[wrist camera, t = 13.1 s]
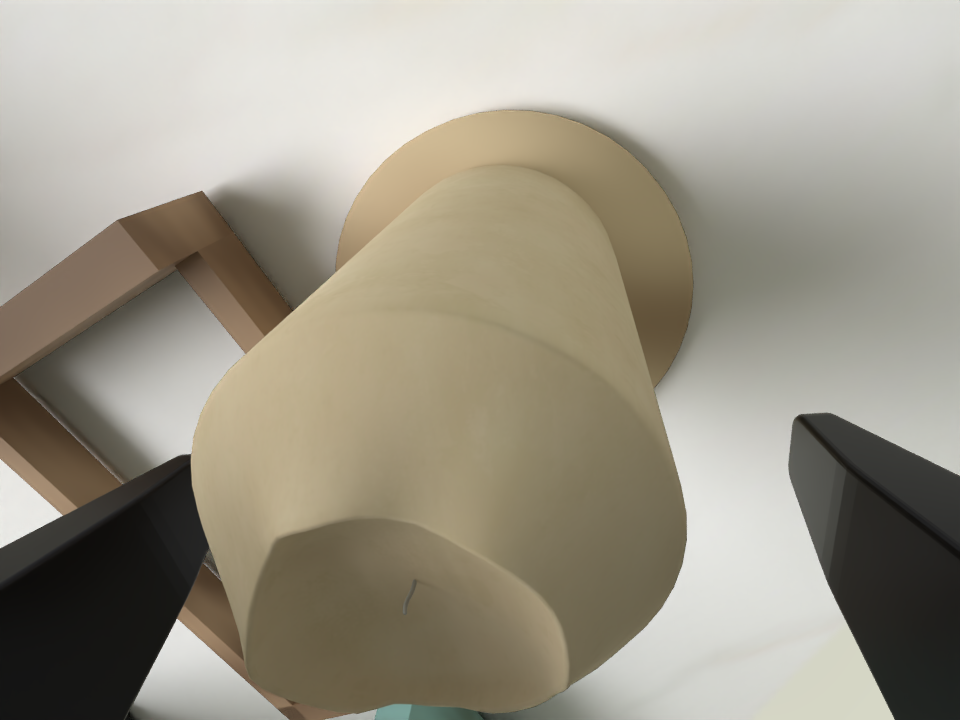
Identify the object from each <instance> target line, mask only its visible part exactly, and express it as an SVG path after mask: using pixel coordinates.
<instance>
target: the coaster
mask: <svg viewBox="0 0 960 720" xmlns="http://www.w3.org/2000/svg"><path fill="white" fill-rule="evenodd" d="M487 165H510V166H520V167H524V168H528V169H532V170H536V171H539V172H541V173H544V174H546V175H549V176H551V177H553V178H555V179H557V180H559V181H560V182H562V183H564V184H566V185H567V186H568V187H570V188H571V189H572V190H573V191H575V192H576V193H577V194H579V195H580V196H581V197H582V198H583V199H584V200H585V201H586V202H587V203H588V204H589V206H590V207H591V208H592V209H593V211H594V212H595V213H596V215H597V216H598V218H599V219H600V221H601V222H602V224H603V226H604V228H605V230H606V232H607V234H608V237H609V240H610V242H611V245H612V248H613V250H614V253H615V256H616V259H617V263H618V266H619V270H620V273H621V276H622V280H623V283H624V287H625V290H626V294H627V297H628V301H629V304H630V308H631V311H632V315H633V318H634V322H635V325H636V329H637V332H638V336H639V339H640V343H641V346H642V350H643V353H644V357H645V360H646V364H647V367H648V371H649V374H650V378H651V381H652V385H653V388H655V387H656V386H657V384H658V383H659V381H660V380H661V379H662V377H663V376H664V375H665V373H666V372H667V371H668V369H669V367H670V366H671V364H672V362H673V360H674V358H675V356H676V355H677V353H678V351H679V349H680V346H681V343H682V341H683V338H684V335H685V333H686V330H687V326H688V321H689V317H690V313H691V308H692V296H693V272H692V260H691V256H690V251H689V247H688V242H687V238H686V235H685V232H684V230H683V227H682V225H681V222H680V219H679V217H678V214H677V213H676V211H675V209H674V207H673V206H672V204H671V202H670V200H669V199H668V197H667V195H666V193H665V192H664V190H663V189H662V188H661V187H660V185H659V184H658V183H657V182H656V180H655V179H654V178H653V176H652V175H651V174H650V173H649V171H648V170H647V169H646V168H645V167H644V166H643V165H642V164H641V163H640V162H639V161H638V160H637V159H636V158H635V157H634V156H632V155H631V154H630V153H629V152H628V151H627V150H626V149H624V148H623V147H621V146H620V145H619V144H617V143H616V142H614V141H613V140H611V139H610V138H609V137H607V136H606V135H604V134H602V133H600V132H598V131H596V130H594V129H592V128H590V127H588V126H586V125H584V124H581V123H578V122H575V121H572V120H569V119H566V118H563V117H560V116H557V115H552V114H546V113H541V112H535V111H523V110H499V111H490V112H481V113H476V114H472V115H468V116H465V117H461V118H457V119H453V120H451V121H449V122H446V123H444V124H442V125H439V126H437V127H434V128H432V129H430V130H428V131H426V132H424V133H422V134H421V135H419V136H417V137H416V138H414V139H413V140H411V141H409V142H408V143H406V144H404V145H403V146H402V147H401V148H399V149H398V150H397V151H396V152H395V153H393V154H392V155H391V156H390V157H389V158H387V159H386V160H385V161H384V162H383V163H382V164H381V165H380V167H379V168H378V169H377V170H376V171H375V172H374V173H373V174H372V175H371V177H370V178H369V179H368V180H367V182H366V183H365V185H364V186H363V188H362V189H361V191H360V192H359V194H358V195H357V197H356V199H355V201H354V203H353V205H352V207H351V209H350V211H349V213H348V215H347V218H346V220H345V223H344V227H343V230H342V233H341V236H340V240H339V245H338V252H337V258H336V272H337V271H338V270H339V269H340V268H341V267H342V266H344V265H345V264H346V263H347V262H348V261H349V260H350V259H351V258H352V257H353V256H355V255H356V254H357V253H358V252H359V251H360V250H361V249H362V248H363V247H365V246H366V245H367V244H368V243H369V242H370V241H371V240H372V239H373V238H374V237H376V236H377V235H378V234H379V233H380V232H381V231H382V230H383V229H384V228H386V227H387V226H388V225H389V224H390V223H391V222H392V221H393V220H394V219H395V218H397V217H398V216H399V215H400V214H401V213H402V212H403V211H404V210H405V209H407V208H408V207H409V206H410V205H411V204H412V203H413V202H414V201H415V200H417V199H418V198H419V197H420V196H421V195H422V194H423V193H425V192H426V191H427V190H429V189H430V188H431V187H433V186H434V185H436V184H437V183H439V182H440V181H442V180H443V179H445V178H448V177H450V176H452V175H454V174H456V173H458V172H461V171H465V170H468V169H471V168H476V167H481V166H487Z"/></svg>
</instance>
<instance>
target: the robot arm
mask: <svg viewBox="0 0 960 720" xmlns="http://www.w3.org/2000/svg"><path fill="white" fill-rule="evenodd" d="M788 466H789V475H790V479H791V483H792V485H793V488H794V491H795V494H796V497H797V499H798V502H799V505H800V508H801V511H802V514H803V516H804V519H805V522H806V525H807V528H808V530H809V533H810V536H811V539H812V542H813V544H814V547H815V550H816V553H817V556H818V558H819V561H820V564H821V567H822V569H823V572H824V575H825V577H826V580H827V582H828V585H829V587H830V589H831V591H832V593H833V595H834V598H835V600H836V602H837V604H838V606H839V608H840V610H841V612H842V614H843V616H844V618H845V620H846V622H847V624H848V626H849V628H850V630H851V632H852V634H853V636H854V638H855V640H856V642H857V644H858V646H859V648H860V650H861V652H862V654H863V656H864V659H865V660H866V663H867V665H868V667H869V668H870V671H871V673H872V675H873V677H874V678H875V681H876V683H877V685H878V687H879V689H880V691H881V693H882V695H883V697H884V699H885V701H886V703H887V705H888V707H889V709H890V711H891V713H892V715H893V717H894V719H895V720H960V476H959V475H957V474H955V473H953V472H951V471H949V470H947V469H945V468H943V467H940V466H938V465H936V464H934V463H932V462H930V461H928V460H926V459H924V458H922V457H920V456H918V455H916V454H914V453H912V452H910V451H908V450H906V449H904V448H902V447H900V446H897V445H895V444H893V443H891V442H889V441H887V440H885V439H883V438H881V437H879V436H877V435H875V434H873V433H871V432H869V431H867V430H865V429H863V428H861V427H859V426H857V425H854V424H852V423H850V422H848V421H846V420H844V419H842V418H840V417H838V416H836V415H834V414H831V413H814V414H801V415H798V416H797V417H796V418H795V419H794V422H793V425H792V434H791V444H790V453H789V464H788ZM208 549H209V544H208V541H207V538H206V536H205V533H204V530H203V527H202V523H201V520H200V517H199V513H198V509H197V505H196V500H195V496H194V491H193V487H192V474H191V454H186V455H180V456H177V457H175V458H173V459H171V460H169V461H167V462H166V463H164V464H162V465H160V466H158V467H156V468H154V469H152V470H150V471H148V472H146V473H144V474H143V475H141V476H139V477H137V478H135V479H133V480H131V481H129V482H127V483H125V484H123V485H121V486H119V487H118V488H116V489H114V490H112V491H110V492H108V493H106V494H104V495H102V496H100V497H98V498H96V499H94V500H93V501H91V502H89V503H87V504H85V505H83V506H81V507H79V508H77V509H75V510H73V511H71V512H69V513H68V514H66V515H64V516H62V517H60V518H58V519H56V520H54V521H52V522H50V523H48V524H46V525H44V526H43V527H41V528H39V529H37V530H35V531H33V532H31V533H29V534H27V535H25V536H23V537H21V538H20V539H18V540H16V541H14V542H12V543H10V544H8V545H6V546H4V547H2V548H0V720H131V718H130V717H129V716H128V715H127V714H128V712H129V710H130V708H131V706H132V705H133V703H134V701H135V699H136V697H137V695H138V693H139V691H140V689H141V687H142V685H143V683H144V681H145V679H146V677H147V676H148V674H149V672H150V670H151V668H152V666H153V664H154V662H155V660H156V658H157V656H158V654H159V652H160V650H161V648H162V647H163V645H164V643H165V641H166V639H167V637H168V635H169V633H170V631H171V629H172V627H173V625H174V623H175V621H176V619H177V618H178V616H179V614H180V612H181V610H182V608H183V606H184V604H185V602H186V600H187V598H188V596H189V594H190V592H191V590H192V587H193V585H194V583H195V581H196V578H197V576H198V573H199V571H200V569H201V566H202V564H203V561H204V559H205V556H206V554H207V551H208Z"/></svg>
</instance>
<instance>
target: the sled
mask: <svg viewBox="0 0 960 720" xmlns="http://www.w3.org/2000/svg"><path fill="white" fill-rule="evenodd" d="M176 270H178V271H179V272H180V274H181V275H182V276H183V277H184V278H185V280H186V281H187V282H188V283H189V285H190V286H191V287H192V288H193V290H194V291H195V292H196V293H197V294H198V296H199V297H200V298H201V299H202V301H203V302H204V303H205V304H206V306H207V307H208V308H209V309H210V310H211V312H212V313H213V314H214V315H215V317H216V318H217V319H218V320H219V322H220V323H221V324H222V325H223V326H224V328H225V329H226V330H227V331H228V333H229V334H230V335H231V336H232V338H233V339H234V340H235V341H236V342H237V344H238V345H239V346H240V347H241V349H242V350H243V351H244V352H245V354H246V353H247V352H249V351H250V350H251V349H252V348H253V347H254V346H255V345H256V344H257V343H258V342H260V341H261V340H262V339H263V338H264V337H265V336H266V335H267V334H268V333H270V332H271V331H272V330H273V329H274V328H275V327H276V326H277V325H278V324H279V323H281V322H282V321H283V320H284V319H285V318H286V317H287V316H288V315H289V314H290V313H292V312H293V311H292V310H291V309H290V307H289V306H288V305H287V303H286V302H285V301H284V299H283V298H282V297H281V295H280V294H279V293H278V291H277V290H276V289H275V287H274V286H273V285H272V283H271V282H270V281H269V279H268V278H267V277H266V275H265V274H264V273H263V271H262V270H261V269H260V267H259V266H258V265H257V263H256V262H255V261H254V259H253V258H252V257H251V255H250V254H249V253H248V251H247V250H246V249H245V247H244V246H243V245H242V243H241V242H240V241H239V239H238V238H237V237H236V235H235V234H234V233H233V231H232V230H231V229H230V227H229V226H228V225H227V223H226V222H225V221H224V219H223V218H222V217H221V215H220V214H219V212H218V211H217V210H216V208H215V207H214V206H213V204H212V203H211V202H210V200H209V199H208V198H207V196H206V195H205V194H204V192H203V191H200V192H197V193H194V194H191V195H188V196H185V197H182V198H180V199H177V200H174V201H171V202H168V203H165V204H162V205H159V206H156V207H154V208H151V209H148V210H145V211H142V212H139V213H136V214H133V215H131V216H128V217H125V218H122V219H119V220H117V221H115V222H114V223H113V224H111V225H110V226H109V227H107V228H106V229H105V230H103V231H102V232H101V233H99V234H98V235H97V236H95V237H94V238H93V239H91V240H90V241H88V242H87V243H86V244H84V245H83V246H82V247H80V248H79V249H78V250H76V251H75V252H74V253H72V254H71V255H70V256H68V257H67V258H66V259H64V260H63V261H62V262H60V263H59V264H58V265H56V266H55V267H54V268H52V269H51V270H50V271H48V272H47V273H46V274H44V275H43V276H42V277H40V278H39V279H38V280H36V281H35V282H33V283H32V284H31V285H29V286H28V287H27V288H25V289H24V290H23V291H21V292H20V293H19V294H17V295H16V296H15V297H13V298H12V299H11V300H9V301H8V302H7V303H5V304H4V305H3V306H1V307H0V459H1V460H2V461H3V462H5V463H6V464H7V465H8V466H9V467H10V468H11V469H12V470H13V471H15V472H16V473H17V474H18V475H19V476H20V477H21V478H22V479H23V480H25V481H26V482H27V483H28V484H29V485H30V486H31V487H32V488H33V489H34V490H36V491H37V492H38V493H39V494H40V495H41V496H42V497H43V498H44V499H46V500H47V501H48V502H49V503H50V504H51V505H52V506H53V507H54V508H56V509H57V510H58V511H59V512H60V513H61V514H62V515H63V516H64V515H66V514H68V513H69V512H71V511H73V510H75V509H77V508H79V507H81V506H83V505H85V504H87V503H89V502H91V501H93V500H94V499H96V498H98V497H100V496H102V495H104V494H106V493H108V492H110V491H112V490H114V489H116V488H118V487H119V486H121V485H122V484H121V483H120V482H119V481H118V480H117V479H116V478H115V477H114V476H113V475H112V474H111V473H110V472H109V471H108V470H107V469H106V468H105V467H104V466H103V465H102V464H101V463H100V462H99V461H98V460H97V459H96V458H95V457H94V456H93V455H92V454H91V453H90V452H89V451H88V450H87V449H86V448H85V447H84V446H83V445H82V444H81V443H80V442H78V441H77V440H76V439H75V438H74V437H73V436H72V435H71V434H70V433H69V432H68V431H67V430H66V429H65V428H64V427H63V426H62V425H61V424H60V423H59V422H58V421H57V420H56V419H55V418H54V417H53V416H52V415H51V414H50V413H49V412H48V411H47V410H46V409H45V408H44V407H43V406H42V405H41V404H40V403H39V402H38V401H37V400H36V399H35V398H34V397H33V396H31V395H30V394H29V393H28V392H27V391H26V390H25V389H24V388H23V387H22V386H21V385H20V384H19V383H18V382H17V381H16V380H15V379H14V378H13V377H15V376H16V375H18V374H19V373H21V372H22V371H24V370H26V369H27V368H29V367H30V366H32V365H33V364H35V363H36V362H38V361H39V360H41V359H42V358H44V357H45V356H47V355H48V354H50V353H51V352H53V351H54V350H56V349H57V348H59V347H60V346H62V345H63V344H65V343H67V342H68V341H70V340H71V339H73V338H74V337H76V336H77V335H79V334H80V333H82V332H83V331H85V330H86V329H88V328H89V327H91V326H92V325H94V324H95V323H97V322H98V321H100V320H101V319H103V318H104V317H106V316H108V315H109V314H111V313H112V312H114V311H115V310H117V309H118V308H120V307H121V306H123V305H124V304H126V303H127V302H129V301H130V300H132V299H133V298H135V297H136V296H138V295H139V294H141V293H142V292H144V291H145V290H147V289H149V288H150V287H152V286H153V285H155V284H156V283H158V282H159V281H161V280H162V279H164V278H165V277H167V276H168V275H170V274H171V273H173V272H174V271H176ZM177 619H178V620H180V621H181V622H182V623H183V624H184V625H185V626H186V627H187V628H188V629H190V630H191V631H192V632H193V633H194V634H195V635H196V636H197V637H198V638H199V639H201V640H202V641H203V642H204V643H205V644H206V645H207V646H208V647H209V648H211V649H212V650H213V651H214V652H215V653H216V654H217V655H218V656H219V657H221V658H222V659H223V660H224V661H225V662H226V663H227V664H228V665H229V666H230V667H232V668H233V669H234V670H235V671H236V672H237V673H238V674H239V675H240V676H242V677H243V678H244V679H245V680H246V681H247V682H248V683H249V684H250V685H252V686H253V687H254V688H255V689H256V690H257V691H258V692H259V693H260V694H261V695H263V696H264V697H265V698H266V699H267V700H268V701H269V702H270V703H271V704H273V705H274V706H275V707H276V708H277V709H278V710H279V711H280V712H281V713H283V714H284V715H285V716H286V717H287V718H288V719H289V720H324V719H329V718H333V717H338V716H343V715H347V714H352V713H338V712H333V711H329V710H324V709H319V708H315V707H312V706H308V705H304V704H300V703H297V702H294V701H291V700H288V699H285V698H282V697H279V696H276V695H274V694H272V693H270V692H267V691H265V690H263V689H261V688H260V687H259V686H258V685H257V684H255V683H254V682H253V681H252V680H251V679H250V678H249V676H248V673H247V671H246V668H245V663H244V656H243V651H242V646H241V641H240V636H239V631H238V628H237V625H236V622H235V619H234V616H233V612H232V609H231V606H230V603H229V600H228V597H227V594H226V591H225V589H224V586H223V583H222V581H221V580H220V579H219V578H217V577H216V576H215V575H214V574H213V573H212V572H211V571H210V570H209V569H208V568H207V567H206V566H205V565H204V564H202V566H201V569H200V571H199V573H198V576H197V578H196V581H195V583H194V585H193V587H192V590H191V592H190V594H189V596H188V598H187V600H186V602H185V604H184V606H183V608H182V610H181V612H180V614H179V616H178V618H177ZM374 720H484V719H483V718H482V717H481V716H480V715H479V713H478V712H477V711H474V710H469V709H465V708H460V707H435V706H422V705H413V704H392V705H389V706H385V707H382V708H378V709H377V712H376V716H375V719H374Z"/></svg>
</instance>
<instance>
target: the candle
mask: <svg viewBox="0 0 960 720" xmlns="http://www.w3.org/2000/svg"><path fill="white" fill-rule="evenodd" d="M191 474H192V487H193V491H194V496H195V500H196V505H197V509H198V513H199V517H200V520H201V523H202V527H203V530H204V533H205V536H206V538H207V541H208V544H209V547H210V550H211V553H212V555H213V558H214V561H215V564H216V567H217V569H218V572H219V575H220V578H221V580H222V583H223V586H224V589H225V591H226V594H227V597H228V600H229V603H230V606H231V609H232V612H233V616H234V619H235V622H236V625H237V628H238V631H239V636H240V641H241V646H242V651H243V656H244V663H245V668H246V671H247V673H248V676H249V678H250V679H251V680H252V681H253V682H254V683H255V684H257V685H258V686H259V687H260V688H261V689H263V690H265V691H267V692H270V693H272V694H274V695H276V696H279V697H282V698H285V699H288V700H291V701H294V702H297V703H300V704H304V705H308V706H312V707H315V708H319V709H324V710H329V711H333V712H338V713H355V714H359V713H363V712H367V711H371V710H374V709H378V708H382V707H385V706H389V705H392V704H413V705H422V706H435V707H460V708H465V709H469V710H474V711H479V712H486V713H492V714H494V713H507V712H516V711H520V710H524V709H528V708H532V707H535V706H537V705H539V704H541V703H543V702H545V701H547V700H549V699H550V698H552V697H553V696H555V695H556V694H558V693H561V692H564V691H565V690H566V689H568V688H569V686H570V685H572V684H573V683H575V682H577V681H578V680H580V679H581V678H583V677H585V676H586V675H588V674H589V673H591V672H592V671H594V670H596V669H597V668H598V667H599V666H601V665H602V664H603V663H604V662H606V661H607V660H608V659H609V658H611V657H612V656H613V655H614V654H616V653H617V652H618V651H619V650H620V649H621V648H622V647H624V646H625V645H626V644H627V643H628V642H629V641H630V640H632V639H633V638H634V637H635V636H636V635H637V634H638V633H639V632H641V631H642V630H643V629H644V628H645V627H646V626H647V625H648V623H649V622H650V621H651V620H652V619H653V617H654V616H655V615H656V614H657V613H658V612H659V610H660V609H661V608H662V606H663V605H664V603H665V601H666V600H667V598H668V596H669V595H670V593H671V591H672V589H673V588H674V585H675V583H676V580H677V577H678V575H679V572H680V569H681V567H682V564H683V558H684V552H685V547H686V541H687V516H686V509H685V504H684V498H683V493H682V488H681V484H680V480H679V477H678V473H677V469H676V466H675V462H674V459H673V455H672V452H671V448H670V445H669V441H668V437H667V434H666V430H665V427H664V423H663V420H662V416H661V413H660V409H659V406H658V402H657V399H656V395H655V392H654V388H653V385H652V381H651V378H650V374H649V371H648V367H647V364H646V360H645V357H644V353H643V350H642V346H641V343H640V339H639V336H638V332H637V329H636V325H635V322H634V318H633V315H632V311H631V308H630V304H629V301H628V297H627V294H626V290H625V287H624V283H623V280H622V276H621V273H620V270H619V266H618V263H617V259H616V256H615V253H614V250H613V248H612V245H611V242H610V240H609V237H608V234H607V232H606V230H605V228H604V226H603V224H602V222H601V221H600V219H599V218H598V216H597V215H596V213H595V212H594V211H593V209H592V208H591V207H590V206H589V204H588V203H587V202H586V201H585V200H584V199H583V198H582V197H581V196H580V195H579V194H577V193H576V192H575V191H573V190H572V189H571V188H570V187H568V186H567V185H566V184H564V183H562V182H560V181H559V180H557V179H555V178H553V177H551V176H549V175H546V174H544V173H541V172H539V171H536V170H532V169H528V168H524V167H520V166H510V165H487V166H481V167H476V168H471V169H468V170H465V171H461V172H458V173H456V174H454V175H452V176H450V177H448V178H445V179H443V180H442V181H440V182H439V183H437V184H436V185H434V186H433V187H431V188H430V189H429V190H427V191H426V192H425V193H423V194H422V195H421V196H420V197H419V198H418V199H417V200H415V201H414V202H413V203H412V204H411V205H410V206H409V207H408V208H407V209H405V210H404V211H403V212H402V213H401V214H400V215H399V216H398V217H397V218H395V219H394V220H393V221H392V222H391V223H390V224H389V225H388V226H387V227H386V228H384V229H383V230H382V231H381V232H380V233H379V234H378V235H377V236H376V237H374V238H373V239H372V240H371V241H370V242H369V243H368V244H367V245H366V246H365V247H363V248H362V249H361V250H360V251H359V252H358V253H357V254H356V255H355V256H353V257H352V258H351V259H350V260H349V261H348V262H347V263H346V264H345V265H344V266H342V267H341V268H340V269H339V270H338V271H337V272H336V273H335V274H334V275H332V276H331V277H330V278H329V279H328V280H327V281H326V282H325V283H324V284H323V285H321V286H320V287H319V288H318V289H317V290H316V291H315V292H314V293H313V294H311V295H310V296H309V297H308V298H307V299H306V300H305V301H304V302H303V303H302V304H300V305H299V306H298V307H297V308H296V309H295V310H294V311H293V312H292V313H290V314H289V315H288V316H287V317H286V318H285V319H284V320H283V321H282V322H281V323H279V324H278V325H277V326H276V327H275V328H274V329H273V330H272V331H271V332H270V333H268V334H267V335H266V336H265V337H264V338H263V339H262V340H261V341H260V342H258V343H257V344H256V345H255V346H254V347H253V348H252V349H251V350H250V351H249V352H247V353H246V354H245V355H244V356H243V357H242V358H241V359H240V360H239V361H238V362H237V363H236V364H234V365H233V366H232V367H231V368H230V369H229V370H228V371H227V373H226V374H225V375H224V377H223V378H222V379H221V380H220V382H219V383H218V384H217V386H216V387H215V388H214V389H213V391H212V393H211V394H210V396H209V398H208V400H207V402H206V404H205V406H204V408H203V410H202V412H201V414H200V417H199V420H198V424H197V427H196V430H195V434H194V437H193V445H192V454H191Z"/></svg>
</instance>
